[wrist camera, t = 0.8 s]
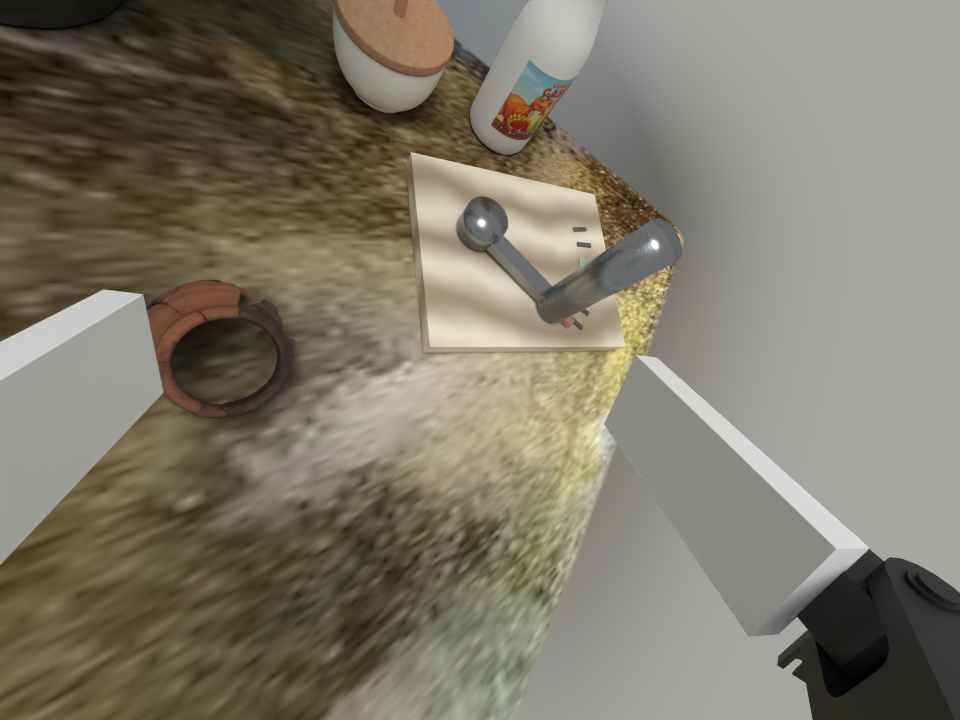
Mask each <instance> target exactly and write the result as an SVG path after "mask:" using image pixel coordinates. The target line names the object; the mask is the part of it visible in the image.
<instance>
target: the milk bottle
mask: <svg viewBox="0 0 960 720" xmlns="http://www.w3.org/2000/svg"><path fill="white" fill-rule="evenodd" d="M607 2H608V0H529V1H528V3H527V4H526V6H525V7H524V9H523V10H522V11H521V13H520V15H519V17H518V18H517V20H516V22H515V24H514V25H513V27H512V29H511V31H510V33H509V35H508V36H507V38H506V40H505V42H504V44H503V46H502V48H501V50H500V51H499V53H498V55H497V57H496V59H495V61H494V63H493V65H492V67H491V69H490V71H489V72H488V74H487V76H486V78H485V80H484V82H483V84H482V86H481V88H480V90H479V92H478V94H477V96H476V98H475V100H474V102H473V104H472V106H471V109H470V122H471V126H472V128H473V130H474V133H475V134H476V136H477V137H478V138H479V139H480V141H481V142H482V143H483V144H484V145H485V146H487V147H488V148H489V149H491V150H492V151H495V152H497V153H500V154H503V155H512V154H514V153H517V152H519V151H520V150H521V149H522V148H523V147H524V146H525V145H526V143H527V142H528V141H529V140H530V138H531V137H532V136H533V134H534V133H535V132H536V130H537V129H538V128H539V126H540V125H541V124H542V122H543V121H544V120H545V118H546V117H547V116H548V114H549V113H550V112H551V110H552V109H553V108H554V106H555V105H556V103H557V102H558V101H559V99H560V98H561V97H562V95H563V94H564V93H565V91H566V90H567V88H568V87H569V86H570V85H571V83H572V82H573V80H574V79H575V77H576V76H577V74H578V73H579V72H580V70H581V68H582V67H583V65H584V63H585V62H586V60H587V58H588V56H589V54H590V51H591V49H592V46H593V43H594V40H595V37H596V34H597V30H598V26H599V23H600V20H601V17H602V14H603V11H604V9H605V7H606V4H607Z"/></svg>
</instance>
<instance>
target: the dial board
mask: <svg viewBox="0 0 960 720" xmlns="http://www.w3.org/2000/svg"><path fill="white" fill-rule="evenodd" d="M406 175H407V186H408V197H409V207H410V218H411V229H412V239H413V250H414V261H415V271H416V282H417V293H418V303H419V314H420V324H421V335H422V346H423V353H452V352H555V351H614V350H617V349H620V348H623V347H625V343H624V338H623V333H622V328H621V323H620V318H619V313H618V308H617V304H616V299H615V294H613V295H611V296H609V297H607V298H605V299H603V300H601V301H599V302H597V303H596V304H594V305H592V306H590V307H588V308H586V309H584V310H582V311H580V312H578V313H576V314H574V315H572V316H571V317H572V318H573V319H574V320H575V322H574V323H573V325H572V326H570V327H567V326H566V325H565V324H564V323H563V322H562V321H561V322H558V323H552V322H549V321H547V320H546V319H545V318H544V317H543V316H542V315H541V313H540V311H539V308H538V302H537V301H536V299H535V298H534V297H533V296H532V295H531V294H530V293H529V292H528V291H527V290H526V289H525V288H524V287H523V286H522V285H521V284H520V283H519V282H518V281H517V280H516V279H515V278H514V277H513V276H512V275H511V274H510V273H509V272H508V271H507V270H506V269H505V268H504V267H503V266H502V265H501V264H500V263H499V262H498V261H497V260H496V259H495V258H494V257H493V256H492V255H491V254H490V253H489V252H488V251H487V250H476V249H474V248H472V247H470V246H469V245H467V244H466V243H465V242H464V241H463V239H462V238H461V236H460V235H459V232H458V228H457V222H458V218H459V217H460V215H461V214H462V212H463V211H464V209H465V208H466V207H467V205H468V204H469V202H470V201H471V200H472V199H473V198H475V197H478V196H485V197H489V198H491V199H493V200H495V201H496V202H497V203H499V204H500V205H501V207H502V208H503V209H504V211H505V212H506V215H507V218H508V229H507V231H506V233H505V234H504V237H505V238H506V239H507V240H508V241H509V242H510V243H511V244H512V245H513V246H514V247H515V248H516V249H517V250H518V251H519V252H520V253H521V254H522V255H523V256H524V257H525V258H526V259H527V260H528V261H529V263H530V264H531V265H532V266H533V267H534V268H535V269H536V270H537V271H538V272H539V273H540V274H541V275H542V276H543V277H544V278H545V279H546V280H547V281H548V282H549V283H550V284H551V285H552V286H553V285H555V284H556V283H558V282H559V281H561V280H562V279H564V278H565V277H567V276H568V275H570V274H571V273H573V272H574V271H576V270H577V269H579V268H580V267H582V266H583V265H585V264H586V263H588V262H589V261H591V260H592V259H594V258H595V257H597V256H598V255H600V254H601V253H603V252H604V251H606V249H605V244H604V239H603V234H602V229H601V224H600V219H599V214H598V209H597V204H596V200H595V195H594V194H589V193H585V192H581V191H576V190H572V189H568V188H563V187H559V186H555V185H550V184H546V183H542V182H537V181H533V180H529V179H525V178H520V177H516V176H512V175H507V174H503V173H499V172H494V171H490V170H486V169H481V168H477V167H473V166H468V165H464V164H460V163H456V162H451V161H447V160H443V159H438V158H434V157H430V156H425V155H421V154H417V153H412V152H411V153H410V156H409V158H408V161H407V163H406Z"/></svg>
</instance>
